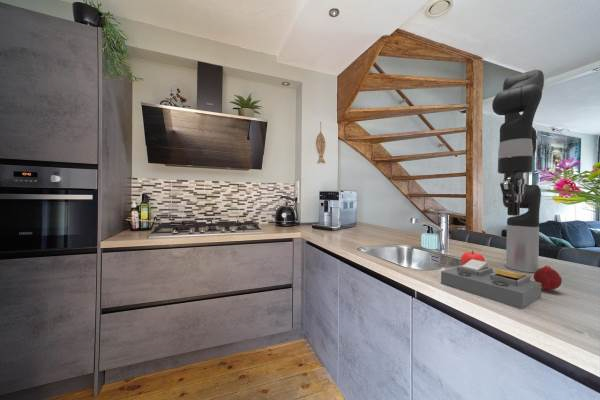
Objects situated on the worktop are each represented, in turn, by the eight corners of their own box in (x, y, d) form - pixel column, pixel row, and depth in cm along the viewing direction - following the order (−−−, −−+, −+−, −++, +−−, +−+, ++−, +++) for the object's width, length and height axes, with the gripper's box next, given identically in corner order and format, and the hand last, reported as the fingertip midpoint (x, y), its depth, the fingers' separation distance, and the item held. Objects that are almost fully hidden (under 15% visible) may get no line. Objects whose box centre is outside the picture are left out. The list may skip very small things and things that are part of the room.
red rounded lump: (567, 295, 67) (568, 268, 67) (543, 293, 68) (544, 266, 68) (550, 287, 73) (550, 262, 73) (528, 286, 74) (529, 261, 74)
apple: (464, 273, 86) (464, 252, 86) (456, 267, 94) (457, 247, 94) (489, 275, 84) (490, 253, 84) (480, 269, 91) (480, 249, 91)
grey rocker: (472, 262, 80) (471, 258, 80) (487, 265, 76) (487, 262, 76) (462, 269, 76) (461, 266, 76) (477, 273, 73) (477, 269, 73)
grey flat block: (462, 275, 83) (463, 261, 83) (541, 296, 66) (541, 278, 66) (440, 283, 76) (441, 267, 76) (522, 309, 59) (522, 288, 59)
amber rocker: (505, 274, 72) (505, 270, 72) (524, 278, 68) (524, 274, 68) (495, 273, 69) (496, 269, 69) (515, 277, 65) (515, 273, 65)
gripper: (507, 160, 75) (506, 213, 76) (489, 156, 69) (488, 215, 69) (540, 157, 69) (538, 215, 69) (523, 152, 62) (521, 217, 62)
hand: (513, 215), depth 69 cm, fingers closed
